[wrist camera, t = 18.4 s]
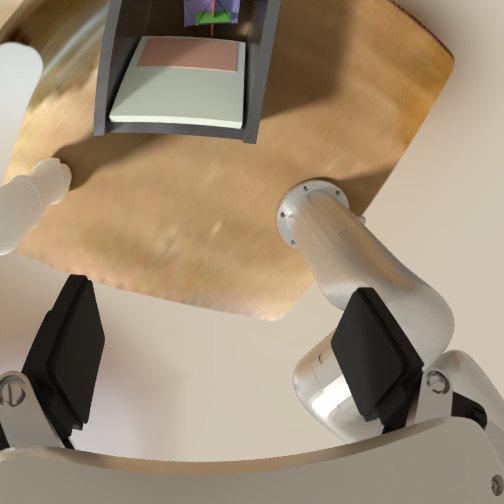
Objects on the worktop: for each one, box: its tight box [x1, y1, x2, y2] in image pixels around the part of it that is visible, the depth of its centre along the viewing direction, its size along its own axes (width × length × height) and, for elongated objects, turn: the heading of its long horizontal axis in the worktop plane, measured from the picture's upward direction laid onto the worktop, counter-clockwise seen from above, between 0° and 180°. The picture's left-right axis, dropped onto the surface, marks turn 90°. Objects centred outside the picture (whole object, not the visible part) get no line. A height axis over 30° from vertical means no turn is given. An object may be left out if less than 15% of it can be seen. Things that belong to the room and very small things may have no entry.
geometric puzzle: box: [184, 0, 240, 39], centre depth 26 cm, size 7×7×8 cm
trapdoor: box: [110, 36, 245, 129], centre depth 27 cm, size 13×14×1 cm
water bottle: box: [0, 158, 72, 255], centre depth 26 cm, size 7×7×25 cm
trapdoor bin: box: [93, 0, 282, 144], centre depth 26 cm, size 16×21×14 cm
